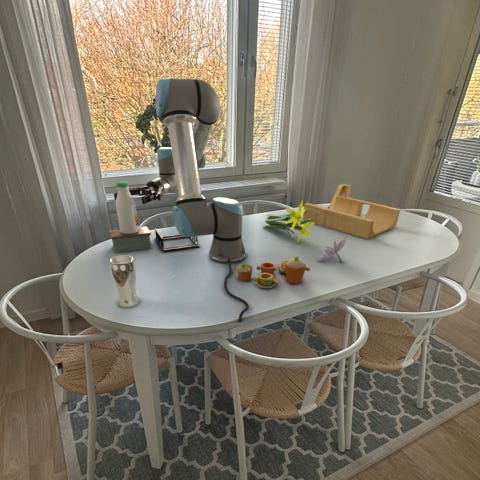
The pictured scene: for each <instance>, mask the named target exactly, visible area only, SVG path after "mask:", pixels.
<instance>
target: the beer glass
mask: <svg viewBox="0 0 480 480" xmlns="http://www.w3.org/2000/svg"><path fill="white" fill-rule="evenodd" d="M109 262H110V263H109V264H110V272H111V275H112V279H113V282H114V285H115V288H116V290H117V293H118V304H119V306H120V307H123V308H132V307H134V306H137V305H138V304H139V302H140V301H139V297H138V295H137V289H136V287H137V272H136V271H137V270H136V267H135V263H134V258H133V257H132V256H130V255H128V254H122V255H115V256H113V257H112V258H110V260H109Z"/></svg>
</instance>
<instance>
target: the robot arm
mask: <svg viewBox="0 0 480 480" xmlns="http://www.w3.org/2000/svg"><path fill="white" fill-rule="evenodd" d="M155 112H156V117H158V118H160V119H162V120H161V121H162V124H163V125H164V126H165V127H166V128H167V129H168V130H167V131H168V136H169V142H170V147H168V146H167V147H165V146H164V147H163V146H162V147H159V148H157V150H156V152H157V164H158V175H159V177H157V178H154V179H151V180H149V181H148V182H146V184H145V185H143V186H140V185H136V186H131V187H130V186H129V188H128V189H129V192H130V194H131V196H139V197H141V196H142V197H141V205H145V204H148V203H150V202H153V201H159V202H160V201H162V198H163V197H164V196H165V195H168V194H170V193H173V192H174V191H176V190H177V193H178V194H177V196H178V197H177V198H176V200H175V205H174V206H172V218H173V223H174V225H175V228H176V230H177V232H178V234H180V235H181V236H182V237H188V238H189V237H193V238H194V236H195V237H196V236H197V237H203V236H210V235H213V237H212V242H211V245H210V248H209V251H208V255H209V259H210V260H212V261H214V262H217V263H220V264H221V263H222V264H228V268H229V272H228V273H227V275H226V276H225V278H224V281H223V289H224V291H225V293H226V294H227V295H228V296H229V297H231V298H232V299H235V300H237V301H239V302H241V303H243V304H244V305H245V308H243V309H242V310H241V312H240V313H239V316H238V320H237V321H238V323H242V319H243V316H244V314H245V313H246V312H248V310H249V308H250V306H249V304H248V302H247V301H246V300H245V299H243V298H241V297H239V296H237V295H234V294H233V293H232V292H230V291H229V289H228V285H227V284H228V283H227V282H228V279H229V278H230V277H231V275H232V272H233V268H232V264H236V263H240V262H242V261H243V260H245V259H246V256H247V255H246V253H247V252H246V248H245V244H244V242H243V215H244V213H243V205H242V202H240V201H239V200H237V199H233V198H229V197H214V198H212V200H211V202H210V203H207V197H205V196H204V195H203V194H202V188H201V182H200V181H201V180H200V175H199V174H200V173H199V169H204V168H205V167H206V162H207V159H206V158H207V157H206V154H205V151H206V150H205V149H206V147H207V144H208V142H209V138H210V135H211V132H212V129H213V126H214V125H215V124H216V123H217V122H218V120H219V117H220V113H221V102H220V99H219V96H218V93H217V91H216V90H215V88H214V87H213V86H212V85H211V84H210V83H209V82H208V81H205V80H203V79H199V78H195V79H194V78H193V79H192V78H175V77H174V78H172V77H168V78H167V77H166V78H164V77H163V78H159V79H158V81H157V83H156V89H155ZM117 194H118V191H117V192H114V193H113V197H114V201H116V198H117ZM239 394H240V395H241V392H239Z"/></svg>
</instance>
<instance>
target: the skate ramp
mask: <svg viewBox="0 0 480 480" xmlns="http://www.w3.org/2000/svg"><path fill="white" fill-rule="evenodd" d="M351 185H352V182H348V183H347V181H344V182H343V180H341V181H340V184H339V185H338V186H337V188H336V190H335V192H334V195H333V197H332V200H331V201H330V204H329V205H324V206H322V205H318V204H316V203H314V202H312V203H310V201H309V200H308V199H305V200H303V201H304V202H303V210H304V209H305V212H306V213H304V214H303V215H302V220H303V221H307V220H309V219H313V220H312V221H310V222H309V223H313V222H315V223H314V224H316V225H319V226H322V227H326V228H329V229H332V230H335V231H339V232H341V233H342V232H343V233H346V234H349V235H352V236H356V237H359V238H362V239H365V240H369V239H372V238H374V237H376V236H377V235H380V234H381V233H384V232H386V231H388V230H391V229H393V228H395V227H397V225H398V220H399V217H400V214H401V213H400V212H401V208H402V205H399V208H398V207H397V205H395V206H393V207H392V205H393V203H390V205H389V204H388V202H387V201H385V204H383V202H384V201H380V202H379V200H378V199H376V203H375V202H374V200H375V199H374V198H372V199H370V200H369V199H368V200H365V198H366V197H364V196H363V198H362V197H361V198H360V197H359V198H358V196H357V195H354V197H350V195H351V187H352V186H351ZM364 204H365V205H369V207H368V210H367V212H366V215H364V214H362V213H363V207H364ZM388 205H389V206H388ZM326 206H327V207H326Z"/></svg>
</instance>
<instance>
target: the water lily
mask: <svg viewBox="0 0 480 480" xmlns="http://www.w3.org/2000/svg"><path fill="white" fill-rule="evenodd" d="M347 238H348V235H346V236H345V237H344V238H343V239H339V241H338V240H337V239H334V241H333V246H325V247H324V249H322V251H323V252H322V254H323V255H321V256H320V257H321V259H319V262H322V261H325V260H327V259H330V258H331V257H332V256H335V255H336V256H337V257H338V260H339V262H340V263H343V260H342V258H341V256H340V254H339V253H338V252H339V251H341V250H342V249H343V248H344V247H345V245H346V244H347V242H348V241H347Z"/></svg>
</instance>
